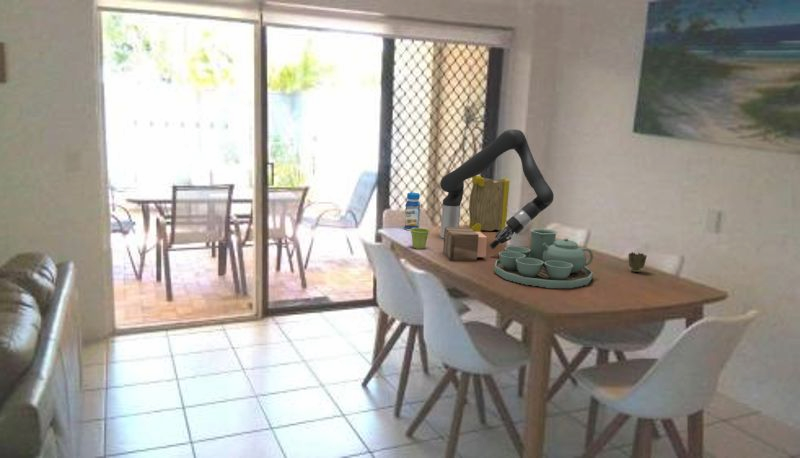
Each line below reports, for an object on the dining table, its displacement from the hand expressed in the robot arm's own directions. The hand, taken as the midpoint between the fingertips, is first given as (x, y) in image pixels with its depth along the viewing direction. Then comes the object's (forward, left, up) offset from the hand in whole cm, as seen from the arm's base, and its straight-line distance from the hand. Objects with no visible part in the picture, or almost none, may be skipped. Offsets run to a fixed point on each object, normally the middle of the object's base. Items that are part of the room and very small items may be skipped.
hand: (491, 247), depth 283 cm
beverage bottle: (-61, -28, -5) cm, 67 cm away
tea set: (+31, +14, -5) cm, 34 cm away
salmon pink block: (0, -9, -3) cm, 9 cm away
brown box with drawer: (0, -15, -5) cm, 15 cm away
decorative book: (-62, +15, -5) cm, 64 cm away
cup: (+24, +58, -5) cm, 63 cm away
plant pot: (-17, -31, -5) cm, 35 cm away
